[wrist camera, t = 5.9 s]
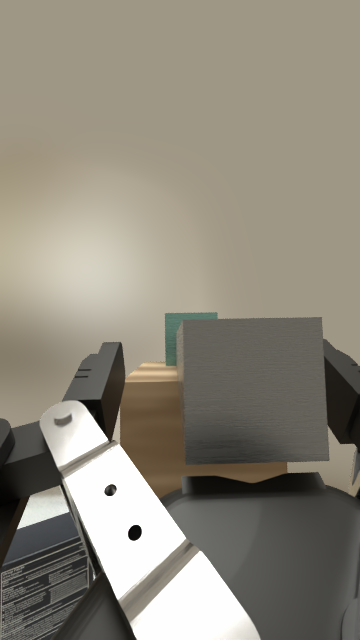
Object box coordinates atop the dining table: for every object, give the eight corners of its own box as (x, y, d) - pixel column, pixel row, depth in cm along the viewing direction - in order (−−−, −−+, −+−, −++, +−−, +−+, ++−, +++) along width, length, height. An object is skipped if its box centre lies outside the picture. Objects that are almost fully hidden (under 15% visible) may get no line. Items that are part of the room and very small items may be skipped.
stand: (309, 983, 15) (283, 378, 17) (122, 996, 14) (120, 382, 16) (243, 667, 29) (233, 360, 31) (147, 671, 28) (144, 362, 30)
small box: (83, 579, 39) (84, 504, 40) (95, 618, 34) (95, 530, 35) (-5, 620, 34) (-2, 532, 35) (-8, 674, 28) (-5, 568, 29)
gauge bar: (400, 458, 6) (383, 226, 6) (136, 466, 6) (135, 228, 6) (214, 360, 32) (213, 317, 32) (167, 361, 32) (166, 318, 32)
